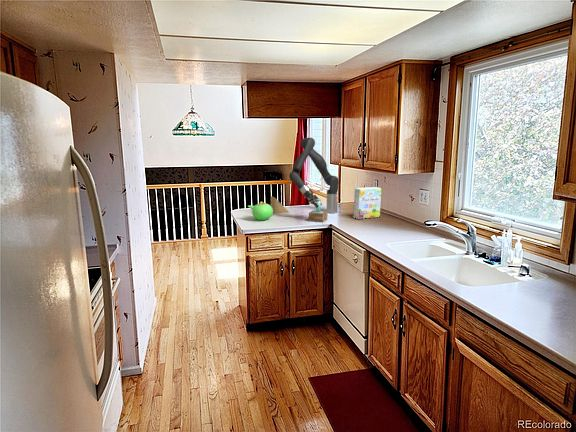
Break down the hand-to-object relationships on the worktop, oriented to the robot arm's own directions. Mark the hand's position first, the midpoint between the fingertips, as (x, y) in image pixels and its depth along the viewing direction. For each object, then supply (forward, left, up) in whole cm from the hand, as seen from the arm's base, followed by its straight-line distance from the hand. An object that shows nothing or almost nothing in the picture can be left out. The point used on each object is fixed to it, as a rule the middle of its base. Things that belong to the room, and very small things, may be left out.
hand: (319, 206), depth 323 cm
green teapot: (+44, -18, -12) cm, 49 cm away
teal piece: (+1, -1, -6) cm, 6 cm away
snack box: (-41, +4, -12) cm, 43 cm away
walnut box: (+1, -1, -12) cm, 12 cm away
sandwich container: (+20, -43, -12) cm, 49 cm away
